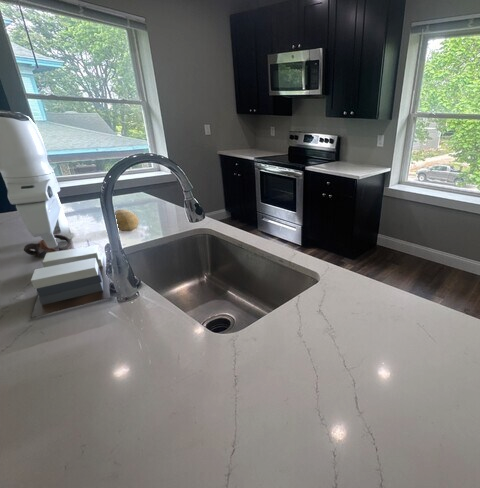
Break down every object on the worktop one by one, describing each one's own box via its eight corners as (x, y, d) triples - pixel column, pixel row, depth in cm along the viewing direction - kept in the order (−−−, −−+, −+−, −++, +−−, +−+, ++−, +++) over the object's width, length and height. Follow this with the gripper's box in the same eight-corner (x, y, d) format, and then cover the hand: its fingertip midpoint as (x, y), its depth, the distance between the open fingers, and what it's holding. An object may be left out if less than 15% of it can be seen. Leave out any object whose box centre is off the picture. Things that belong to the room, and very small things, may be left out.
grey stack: (41, 306, 76) (34, 289, 74) (45, 292, 82) (38, 276, 79) (104, 290, 83) (99, 275, 81) (104, 279, 88) (99, 264, 86)
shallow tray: (33, 322, 73) (30, 317, 72) (49, 266, 96) (47, 262, 96) (111, 302, 81) (109, 297, 80) (108, 255, 105) (107, 251, 104)
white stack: (47, 277, 88) (41, 263, 86) (50, 267, 93) (45, 253, 91) (102, 266, 95) (98, 252, 93) (102, 257, 100) (98, 244, 98)
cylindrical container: (62, 243, 112) (37, 176, 101) (43, 242, 111) (16, 175, 101) (77, 235, 118) (55, 172, 107) (59, 234, 118) (35, 171, 107)
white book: (34, 289, 74) (30, 280, 73) (38, 277, 79) (34, 269, 78) (97, 275, 81) (95, 267, 80) (98, 265, 86) (95, 257, 85)
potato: (119, 238, 117) (113, 219, 114) (109, 228, 126) (104, 210, 122) (146, 232, 124) (141, 214, 120) (135, 222, 132) (131, 205, 129)
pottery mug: (66, 247, 109) (69, 231, 106) (73, 266, 106) (77, 250, 102) (20, 250, 100) (22, 232, 96) (26, 271, 96) (28, 253, 92)
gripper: (24, 178, 76) (44, 228, 82) (5, 199, 61) (32, 258, 67) (56, 175, 79) (73, 224, 85) (46, 195, 64) (68, 252, 70)
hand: (55, 239), depth 76 cm, fingers open, 8 cm apart
